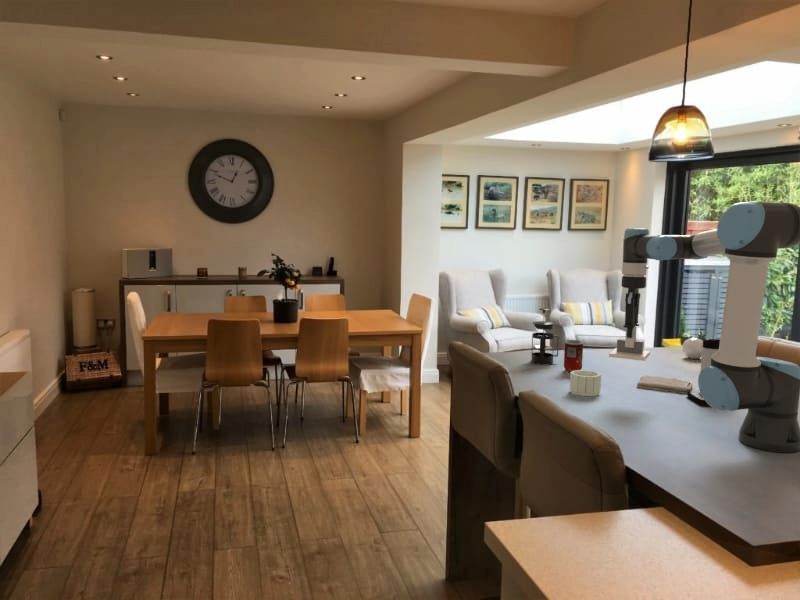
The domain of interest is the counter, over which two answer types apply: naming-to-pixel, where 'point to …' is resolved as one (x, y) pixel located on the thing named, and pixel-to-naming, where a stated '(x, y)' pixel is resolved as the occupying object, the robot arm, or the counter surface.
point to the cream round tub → (585, 383)
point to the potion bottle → (693, 348)
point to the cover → (630, 351)
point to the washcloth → (664, 384)
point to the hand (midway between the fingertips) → (630, 346)
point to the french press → (543, 342)
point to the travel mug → (708, 351)
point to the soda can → (573, 355)
